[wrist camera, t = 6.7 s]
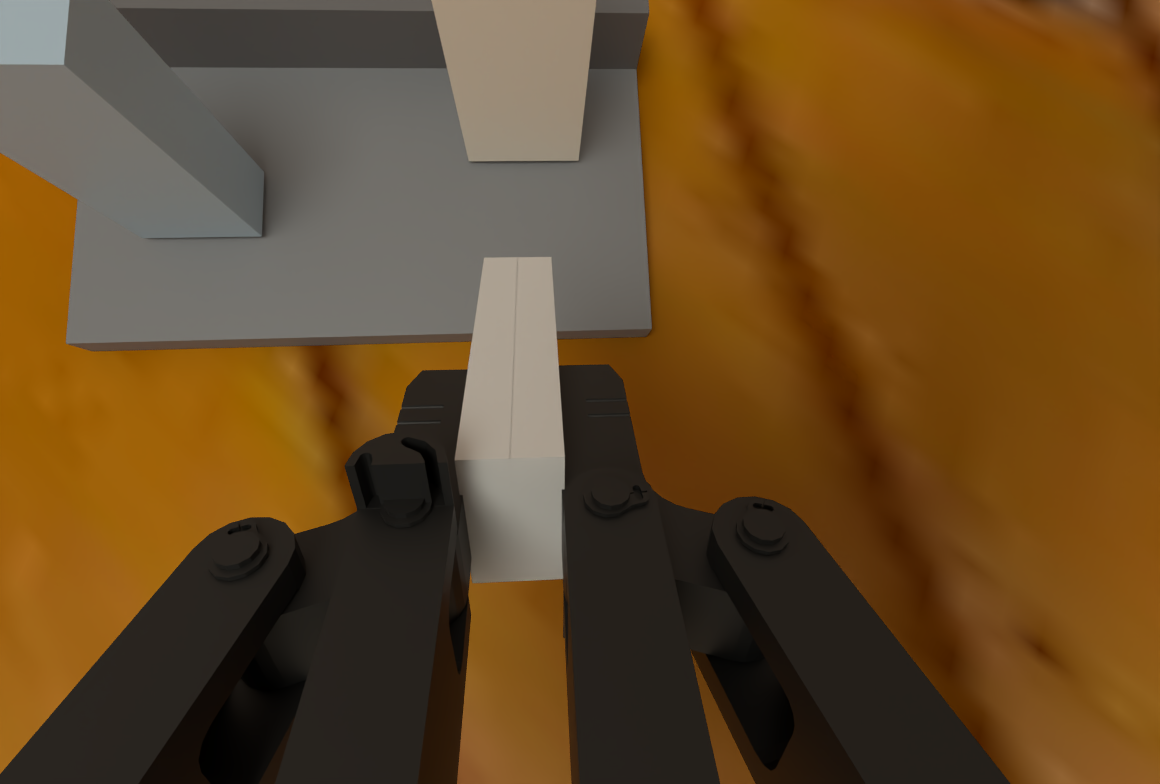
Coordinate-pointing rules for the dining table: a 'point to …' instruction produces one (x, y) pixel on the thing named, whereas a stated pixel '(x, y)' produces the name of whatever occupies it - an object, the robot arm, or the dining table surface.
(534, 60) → the cream key
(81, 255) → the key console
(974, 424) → the dining table surface
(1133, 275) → the dining table surface
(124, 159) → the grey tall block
